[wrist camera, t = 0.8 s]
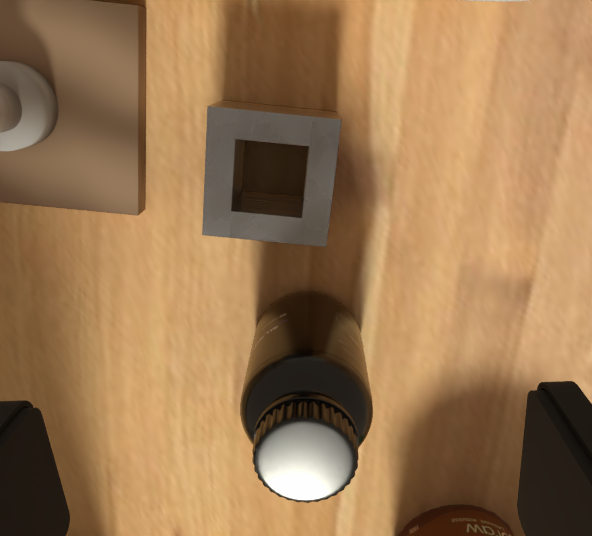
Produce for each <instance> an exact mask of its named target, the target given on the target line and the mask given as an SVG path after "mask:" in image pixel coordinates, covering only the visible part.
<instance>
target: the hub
mask: <svg viewBox="0 0 592 536" xmlns="http://www.w3.org/2000/svg"><path fill="white" fill-rule="evenodd" d="M341 120H342V119H341V118H340V116H339V115H338V113H337V112H335V111H325V110H315V109H306V108H296V107H286V106H276V105H266V104H256V103H246V102H236V101H226V100H222V101H219V102H217V103H214V104H212V105H209V106H208V109H207V134H206V158H205V183H204V207H203V232H202V235H208V236H218V237H228V238H239V239H249V240H259V241H269V242H280V243H290V244H300V245H310V246H321V247H326V246H327V238H328V229H329V221H330V212H331V204H332V196H333V187H334V179H335V171H336V162H337V154H338V145H339V137H340V129H341ZM245 140H251V141H261V142H271V143H281V144H291V145H301V146H308V151H307V161H306V171H305V181H304V191H303V197H302V196H292V195H281V194H271V193H261V192H251V191H242V184H243V168H244V153H245Z"/></svg>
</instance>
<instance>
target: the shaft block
mask: <svg viewBox="0 0 592 536" xmlns="http://www.w3.org/2000/svg"><path fill="white" fill-rule="evenodd" d="M145 153H146V8H144V7H141V6H139V5H130V4H120V3H111V2H101V1H91V0H0V202H5V203H16V204H26V205H36V206H46V207H56V208H67V209H77V210H87V211H97V212H108V213H118V214H128V215H139V214H140V213H141V212H143V211H144V210H145Z"/></svg>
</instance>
